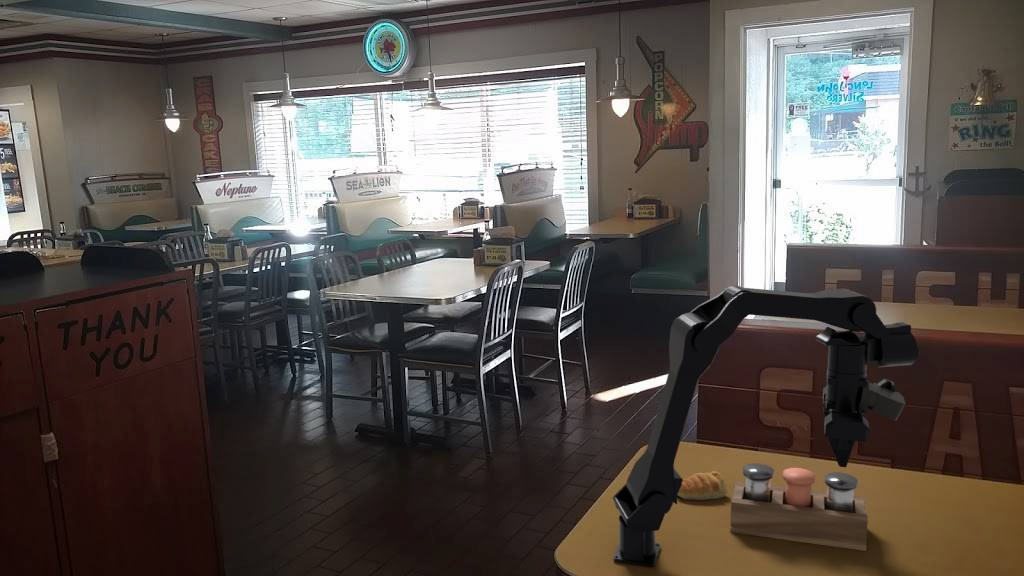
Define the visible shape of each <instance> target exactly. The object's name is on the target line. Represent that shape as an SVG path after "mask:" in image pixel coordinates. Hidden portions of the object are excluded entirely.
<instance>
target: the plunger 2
mask: <svg viewBox="0 0 1024 576" xmlns="http://www.w3.org/2000/svg"><path fill="white" fill-rule="evenodd" d="M858 483H859V481H858V479H857V477H856V476H854V475H851V474H850V473H845V472H838V471H837V472H834V471H833V472H828V473H826V474H825V476H824V484H825V485H826V486H827V489H826V491H827V492H826V493H827V507H826V510H832V511H840V512H848V513H853V496H855V495H854V494H855V493H854V492H855V491H854V490H855V489H857V487H858Z"/></svg>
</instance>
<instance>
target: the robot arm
mask: <svg viewBox="0 0 1024 576" xmlns="http://www.w3.org/2000/svg"><path fill="white" fill-rule="evenodd" d="M748 316H758V317H759V316H762V317H773V318H785V319H786V318H787V319H796V320H798V319H799V320H806V321H807V320H808V321H817V322H821V323H824V324H827V325H830V326H832V327H836V328H839V329H843V330H837V331H836V329H833V328H832V327H829V326H826V327H825V329H824V330H823V331H821V332H819V334H818V335H816V336H815V340H816V341H817V342H819V343H821V344H823V345H825V346H828V353H827V369H826V386H825V387H823V389H822V392H823V393H822V404H825V406H824V407H823V415H824V437H825V438H827V440H828V442H829V445H830V447H831V449H832V452H833V454H834V457H835V459H836V462H837V464H838V467H840V468H847V466H848V465H849V460H850V457H851V455H852V451H853V448H854V446H855V443H856V442H869V441H870V424H869V420H867V418H865V416H864V414H868V411H869V410H870V411H872V412H875V413H877V414H880V415H882V416H885V417H886V418H887V419H888V420H891V421H894V422H895V421H896V422H897V421H898V418H899V417H900V415H901V412H902V411H903V409H904V407H905V405H906V401H905V398H904V396H903V395H902V394H901V392H899V391H895V390H896V386H895V383H894V381H891V380H890V379H887V378H883V379H882V380H881V381H879V382H878V383H876V382H874V383H872V382H869V380H868V374H867V369H868V368H867V367H868V366H867V365H868V362H869V363H870V365H872V367H874V368H887V367H899V366H911V365H914V363H916V361H917V359H918V357H919V353H920V352H919V351H920V350H919V349H920V348H919V347H918V344H917V340H916V338H915V335H914V334H913V333H912V326H911V324H908V323H906V322H895V323H891V324H890V323H889V324H884V323H883V321H882V320H881V318H880V317H879V316H878V314H877V308H876V304H875V302H874V301H873V299H872V298H871V297H869V296H867V295H864V294H861V293H858V292H855V291H852V290H850V289H848V288H833V289H824V290H821V291H816V292H810V293H806V292H797V291H786V290H784V291H783V290H773V289H764V288H763V289H762V288H751V287H742V286H740V285H730V286H728V287H726V288H725V289H724V290H723V291H721V292H720V293H719V294H718V295H716V296H714V297H712V298H710V299H708V300H706V301H705V302H704V301H703V303H700V304H698V305H697V306H696V307H695V308H693V309H692V310H691V311H690V312H686V313H683V314H681V315H680V316H677V317H676V318H675V319H674V320H673V322H672V325H671V328H670V331H669V332H670V335H669V343H668V344H669V345H668V351H669V370H668V374H667V378H666V381H665V385H664V386H663V387H664V388H663V391H662V395H661V399H660V402H659V405H658V408H657V411H656V416H655V419H654V422H653V426H652V430H651V433H650V436H649V439H648V443H647V447H646V449H645V452H643V453H642V455H641V456H640V457H639V458H638V459H637V460H636V462H635V463H634V465H633V467H632V468H631V471H630V473H629V475H628V477H627V480H626V483H625V484H624V485H623V486H622V487H621V488H620V489H619V490H618V491H617V492H616V493H615V494H614V496H612V501H613V503H614V505H615V508H616V510H617V511H618V512H619V514H620V515H619V517H618V532H619V537H618V538H619V539H618V542H619V543H618V546H617V548H616V550H615V552H614V555H613V556H612V557H613V559H612V560H613V561H615V562H621V563H624V564H625V563H626V564H633V565H638V566H645V567H651V568H652V567H654V566H655V565H656V561H657V558H658V557H659V556H658V555H659V553H660V550H661V544H660V543H656V531H659V530H660V528H661V527H662V524H663V520H664V518H665V516H666V515H667V514H669V512H670V511H671V510H672V507H673V505H674V504H675V505H677V504H678V492H679V490H680V488H681V485H682V481H683V479H684V478H682V476H681V475H680V473H679V472H677V470H676V469H675V460H676V457H677V454H678V451H679V450H678V449H679V447H680V443H681V440H682V436H683V433H684V429H685V426H686V423H687V419H688V417H689V412H690V409H691V407H692V403H693V399H694V396H695V392H696V389H697V386H698V382H699V380H700V378H701V376H703V374H704V373H706V371H707V370H708V369H709V368H710V366H711V365H712V363H713V362H714V360H715V357H716V356H717V354H718V352H719V349H720V347H721V345H722V344H723V343H724V342H725V341H727V340H728V339H729V338H730V337H731V336H733V334H734V333H735V331H736V330H737V329H738V327H739V326H740V324H741V323H742V322H743V320H744V319H745V318H747V317H748ZM862 332H863V333H864V334H863V333H862ZM856 333H861V334H856Z"/></svg>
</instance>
